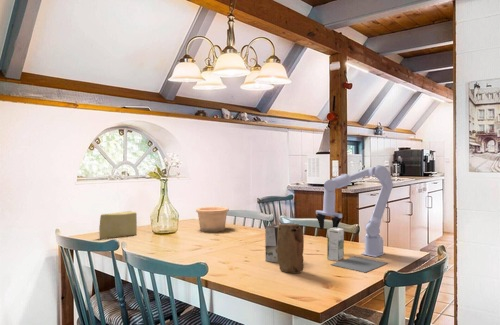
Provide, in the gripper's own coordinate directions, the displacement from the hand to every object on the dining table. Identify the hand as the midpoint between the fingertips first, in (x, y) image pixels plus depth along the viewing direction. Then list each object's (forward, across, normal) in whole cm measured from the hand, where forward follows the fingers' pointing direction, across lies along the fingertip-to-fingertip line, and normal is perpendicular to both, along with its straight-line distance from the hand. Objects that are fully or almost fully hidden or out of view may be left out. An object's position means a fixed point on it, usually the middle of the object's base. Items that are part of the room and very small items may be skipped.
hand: (328, 230), depth 196 cm
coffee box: (+13, -10, -28) cm, 32 cm away
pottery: (+15, -92, 0) cm, 94 cm away
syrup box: (+11, +10, -8) cm, 17 cm away
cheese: (+18, -119, -54) cm, 132 cm away
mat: (+11, +23, -8) cm, 27 cm away
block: (+12, +7, -37) cm, 40 cm away
